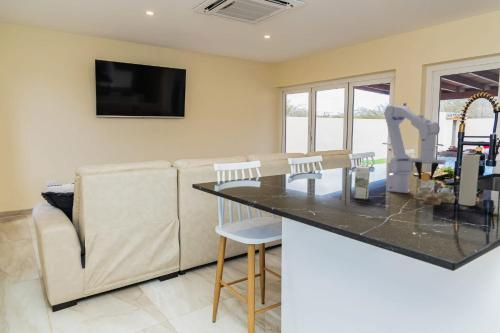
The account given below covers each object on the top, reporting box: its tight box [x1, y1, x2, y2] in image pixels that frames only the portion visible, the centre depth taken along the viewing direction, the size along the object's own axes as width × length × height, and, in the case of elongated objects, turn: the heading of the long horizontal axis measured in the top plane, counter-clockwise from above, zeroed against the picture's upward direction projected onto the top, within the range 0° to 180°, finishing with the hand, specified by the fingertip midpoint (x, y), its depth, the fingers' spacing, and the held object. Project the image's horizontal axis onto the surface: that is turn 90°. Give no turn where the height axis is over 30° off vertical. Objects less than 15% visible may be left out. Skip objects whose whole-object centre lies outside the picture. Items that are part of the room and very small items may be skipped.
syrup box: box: [353, 165, 371, 200], centre depth 156 cm, size 6×6×14 cm
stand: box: [422, 197, 442, 206], centre depth 148 cm, size 6×6×2 cm
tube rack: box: [412, 186, 457, 204], centre depth 157 cm, size 16×13×4 cm
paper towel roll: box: [458, 153, 481, 207], centre depth 144 cm, size 7×6×21 cm
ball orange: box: [420, 172, 431, 182], centre depth 156 cm, size 4×4×4 cm
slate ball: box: [421, 185, 431, 191], centre depth 161 cm, size 4×4×4 cm
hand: (425, 179), depth 156 cm, fingers closed on ball orange, 4 cm apart
